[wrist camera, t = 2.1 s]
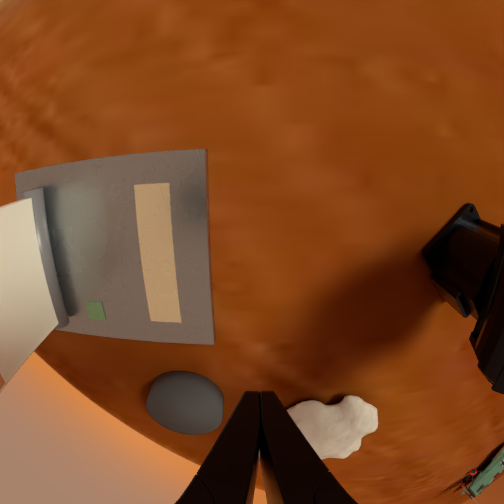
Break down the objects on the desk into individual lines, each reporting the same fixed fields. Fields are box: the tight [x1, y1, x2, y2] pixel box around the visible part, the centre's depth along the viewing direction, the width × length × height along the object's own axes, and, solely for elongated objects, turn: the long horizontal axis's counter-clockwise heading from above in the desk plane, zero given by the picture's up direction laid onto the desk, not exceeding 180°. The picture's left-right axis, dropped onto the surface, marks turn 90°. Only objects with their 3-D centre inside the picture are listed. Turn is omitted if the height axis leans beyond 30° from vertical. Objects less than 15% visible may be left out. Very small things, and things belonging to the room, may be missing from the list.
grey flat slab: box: [15, 149, 215, 345], centre depth 20 cm, size 16×14×1 cm
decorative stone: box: [259, 395, 378, 460], centre depth 26 cm, size 11×4×15 cm
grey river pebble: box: [146, 371, 224, 435], centre depth 24 cm, size 7×7×2 cm
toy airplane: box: [460, 448, 504, 503], centre depth 37 cm, size 22×25×11 cm
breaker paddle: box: [0, 187, 70, 392], centre depth 14 cm, size 2×11×11 cm, turn 0°
